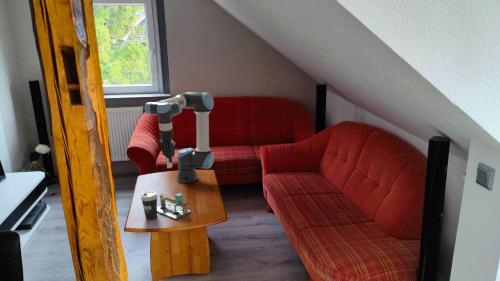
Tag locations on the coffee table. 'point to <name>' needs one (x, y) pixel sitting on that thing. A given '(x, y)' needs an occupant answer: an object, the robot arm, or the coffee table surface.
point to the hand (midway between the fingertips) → (169, 167)
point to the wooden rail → (165, 197)
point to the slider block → (178, 200)
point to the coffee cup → (150, 205)
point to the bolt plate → (171, 211)
